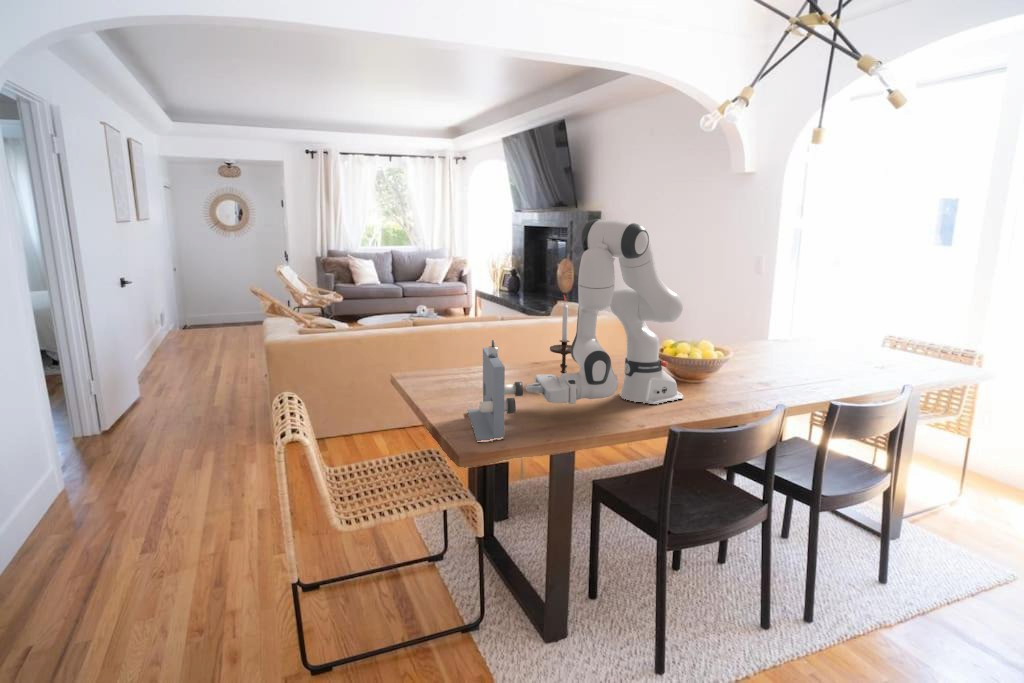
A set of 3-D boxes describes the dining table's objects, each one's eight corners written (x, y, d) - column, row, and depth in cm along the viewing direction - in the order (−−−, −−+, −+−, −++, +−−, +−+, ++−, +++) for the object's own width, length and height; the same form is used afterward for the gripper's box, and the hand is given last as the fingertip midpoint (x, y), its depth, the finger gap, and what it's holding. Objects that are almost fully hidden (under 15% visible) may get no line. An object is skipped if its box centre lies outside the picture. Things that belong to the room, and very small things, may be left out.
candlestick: (546, 387, 221) (548, 295, 213) (551, 379, 231) (553, 291, 224) (575, 389, 218) (578, 296, 211) (579, 381, 229) (582, 292, 221)
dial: (496, 355, 178) (496, 339, 176) (498, 357, 175) (498, 341, 174) (487, 355, 177) (487, 339, 176) (489, 358, 174) (489, 341, 173)
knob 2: (520, 393, 191) (520, 379, 190) (522, 397, 186) (523, 383, 185) (489, 394, 189) (489, 381, 188) (491, 399, 185) (491, 385, 184)
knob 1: (512, 410, 175) (512, 395, 174) (515, 415, 170) (515, 400, 169) (479, 412, 173) (479, 397, 172) (481, 417, 168) (481, 402, 167)
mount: (491, 411, 193) (491, 346, 189) (504, 441, 168) (505, 367, 164) (467, 412, 192) (466, 347, 187) (477, 443, 167) (476, 368, 162)
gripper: (560, 369, 200) (520, 370, 198) (577, 386, 180) (533, 388, 178) (559, 386, 201) (520, 388, 199) (576, 405, 182) (533, 407, 179)
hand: (526, 388), depth 188 cm, fingers closed
